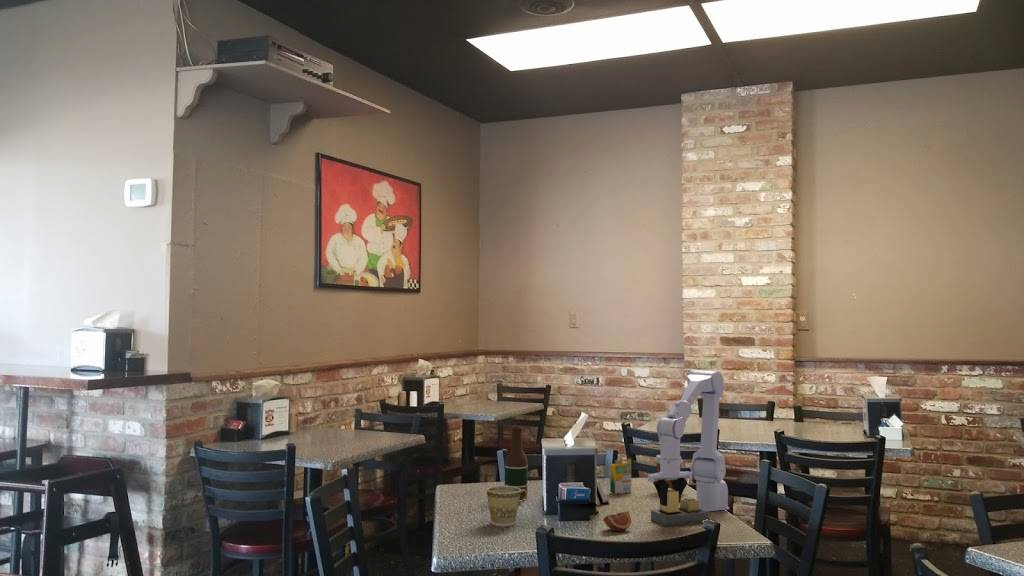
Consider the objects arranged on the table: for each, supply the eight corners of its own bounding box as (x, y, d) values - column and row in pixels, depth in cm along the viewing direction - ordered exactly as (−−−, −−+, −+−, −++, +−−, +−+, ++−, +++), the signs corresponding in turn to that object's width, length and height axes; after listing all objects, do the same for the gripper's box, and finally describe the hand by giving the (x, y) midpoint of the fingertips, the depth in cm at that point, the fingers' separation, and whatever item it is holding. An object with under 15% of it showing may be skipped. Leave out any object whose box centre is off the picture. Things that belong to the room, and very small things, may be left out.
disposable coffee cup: (651, 488, 283) (651, 454, 283) (677, 487, 284) (677, 454, 284) (659, 494, 273) (659, 459, 274) (686, 493, 274) (686, 458, 275)
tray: (692, 515, 244) (692, 494, 244) (708, 522, 237) (708, 500, 237) (650, 520, 238) (651, 498, 238) (666, 526, 231) (666, 504, 231)
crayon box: (626, 490, 279) (626, 457, 279) (631, 492, 276) (632, 458, 276) (609, 492, 275) (609, 458, 275) (615, 494, 272) (615, 460, 273)
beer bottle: (531, 498, 265) (532, 425, 266) (519, 502, 259) (520, 428, 259) (512, 495, 269) (513, 423, 270) (499, 499, 263) (500, 426, 264)
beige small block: (670, 508, 239) (670, 487, 239) (678, 511, 235) (678, 489, 236) (659, 510, 237) (659, 488, 238) (667, 512, 234) (667, 490, 234)
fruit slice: (613, 535, 221) (613, 517, 221) (597, 529, 227) (597, 512, 227) (635, 531, 226) (635, 513, 226) (619, 525, 231) (619, 508, 232)
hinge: (610, 504, 258) (601, 475, 257) (598, 510, 256) (589, 481, 255) (587, 493, 273) (579, 466, 272) (575, 499, 272) (567, 471, 271)
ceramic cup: (497, 530, 225) (498, 494, 225) (479, 522, 233) (480, 487, 234) (535, 524, 232) (536, 489, 232) (517, 517, 240) (517, 483, 240)
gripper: (682, 454, 243) (682, 499, 243) (642, 457, 237) (641, 503, 237) (696, 458, 237) (696, 504, 236) (655, 461, 231) (655, 509, 230)
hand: (669, 504), depth 236 cm, fingers closed on beige small block, 4 cm apart
